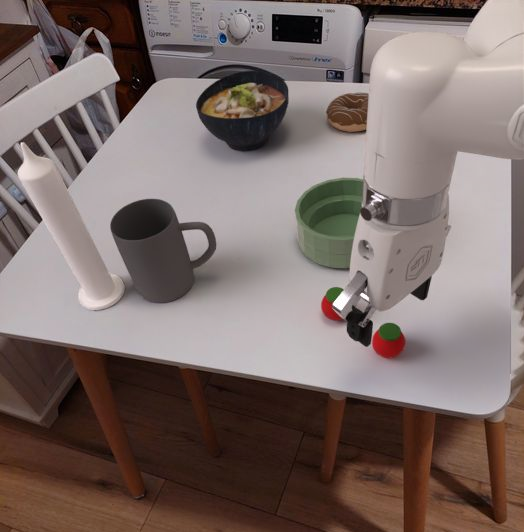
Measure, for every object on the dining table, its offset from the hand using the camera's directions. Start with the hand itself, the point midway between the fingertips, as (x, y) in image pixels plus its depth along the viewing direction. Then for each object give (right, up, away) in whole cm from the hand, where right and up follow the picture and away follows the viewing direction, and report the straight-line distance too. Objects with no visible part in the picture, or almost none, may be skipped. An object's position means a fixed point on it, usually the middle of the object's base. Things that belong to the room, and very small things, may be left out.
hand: (387, 315), depth 60 cm
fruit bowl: (-2, +13, +19) cm, 23 cm away
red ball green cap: (+1, -4, +5) cm, 7 cm away
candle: (-39, +5, +19) cm, 43 cm away
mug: (-27, +6, +18) cm, 33 cm away
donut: (+3, +40, +39) cm, 56 cm away
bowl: (-17, +37, +40) cm, 57 cm away
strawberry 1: (-4, +1, +10) cm, 11 cm away
